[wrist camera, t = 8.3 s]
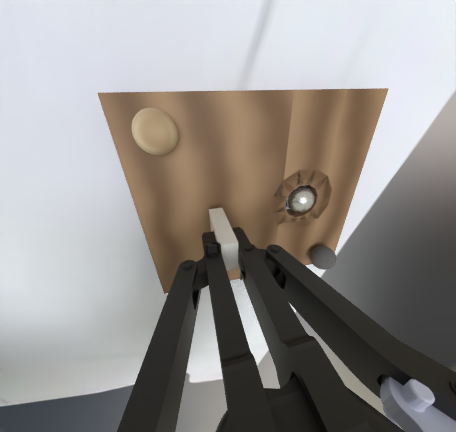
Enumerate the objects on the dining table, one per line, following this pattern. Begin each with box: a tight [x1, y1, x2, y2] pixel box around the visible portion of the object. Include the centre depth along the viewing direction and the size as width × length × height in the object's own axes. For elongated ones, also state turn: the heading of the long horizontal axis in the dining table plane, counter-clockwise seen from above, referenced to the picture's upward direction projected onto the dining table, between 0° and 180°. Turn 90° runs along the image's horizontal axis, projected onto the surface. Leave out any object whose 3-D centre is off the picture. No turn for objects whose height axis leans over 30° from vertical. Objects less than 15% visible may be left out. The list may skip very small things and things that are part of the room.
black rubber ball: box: [310, 246, 336, 269], centre depth 26 cm, size 4×4×4 cm
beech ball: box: [132, 108, 178, 155], centre depth 14 cm, size 4×4×4 cm
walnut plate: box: [98, 89, 388, 294], centre depth 22 cm, size 28×24×2 cm
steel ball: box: [286, 186, 314, 212], centre depth 23 cm, size 4×4×4 cm
